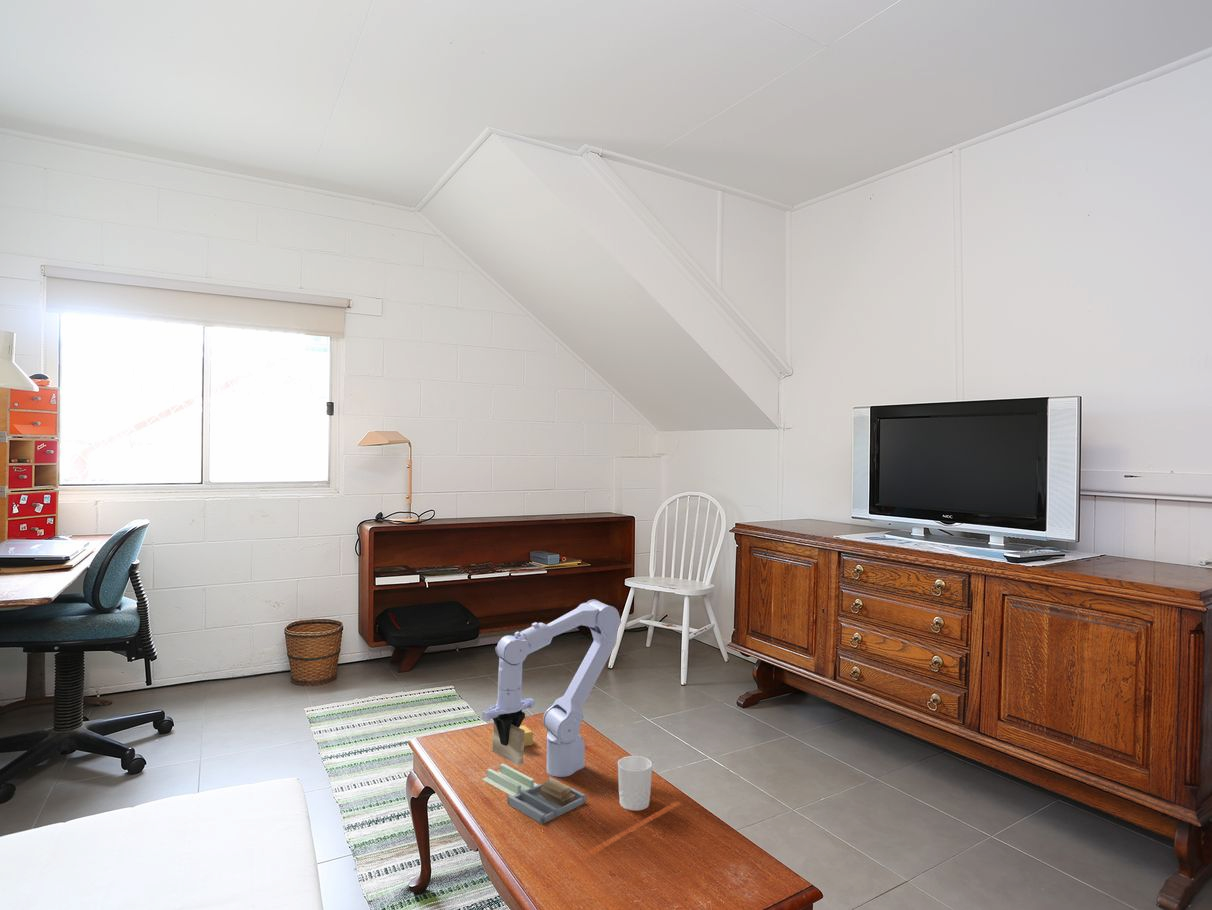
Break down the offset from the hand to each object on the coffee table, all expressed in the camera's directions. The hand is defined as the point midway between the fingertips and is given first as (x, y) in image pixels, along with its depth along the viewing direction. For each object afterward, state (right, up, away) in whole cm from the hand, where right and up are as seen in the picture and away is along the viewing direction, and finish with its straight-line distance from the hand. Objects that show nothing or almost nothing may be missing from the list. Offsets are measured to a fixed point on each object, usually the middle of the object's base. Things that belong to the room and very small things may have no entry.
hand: (507, 743), depth 172 cm
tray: (+10, -11, -10) cm, 18 cm away
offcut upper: (+12, -8, -7) cm, 16 cm away
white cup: (+30, -11, -9) cm, 34 cm away
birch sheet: (0, -3, 0) cm, 3 cm away
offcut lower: (+13, -10, -7) cm, 18 cm away
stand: (+1, -10, +1) cm, 10 cm away
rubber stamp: (-2, -10, +24) cm, 26 cm away
